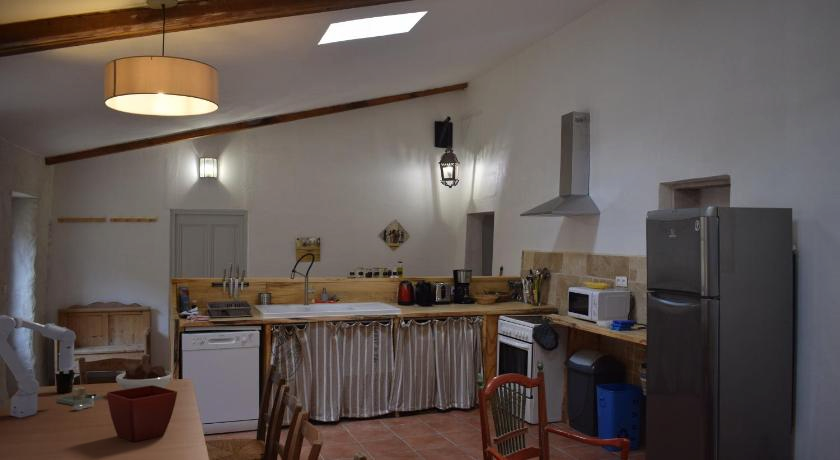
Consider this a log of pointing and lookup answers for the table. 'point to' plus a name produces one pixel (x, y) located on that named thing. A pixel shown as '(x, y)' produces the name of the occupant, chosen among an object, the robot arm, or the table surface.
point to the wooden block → (78, 393)
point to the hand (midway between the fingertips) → (65, 387)
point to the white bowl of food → (144, 377)
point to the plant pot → (141, 411)
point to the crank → (81, 406)
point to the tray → (70, 401)
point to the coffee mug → (60, 386)
